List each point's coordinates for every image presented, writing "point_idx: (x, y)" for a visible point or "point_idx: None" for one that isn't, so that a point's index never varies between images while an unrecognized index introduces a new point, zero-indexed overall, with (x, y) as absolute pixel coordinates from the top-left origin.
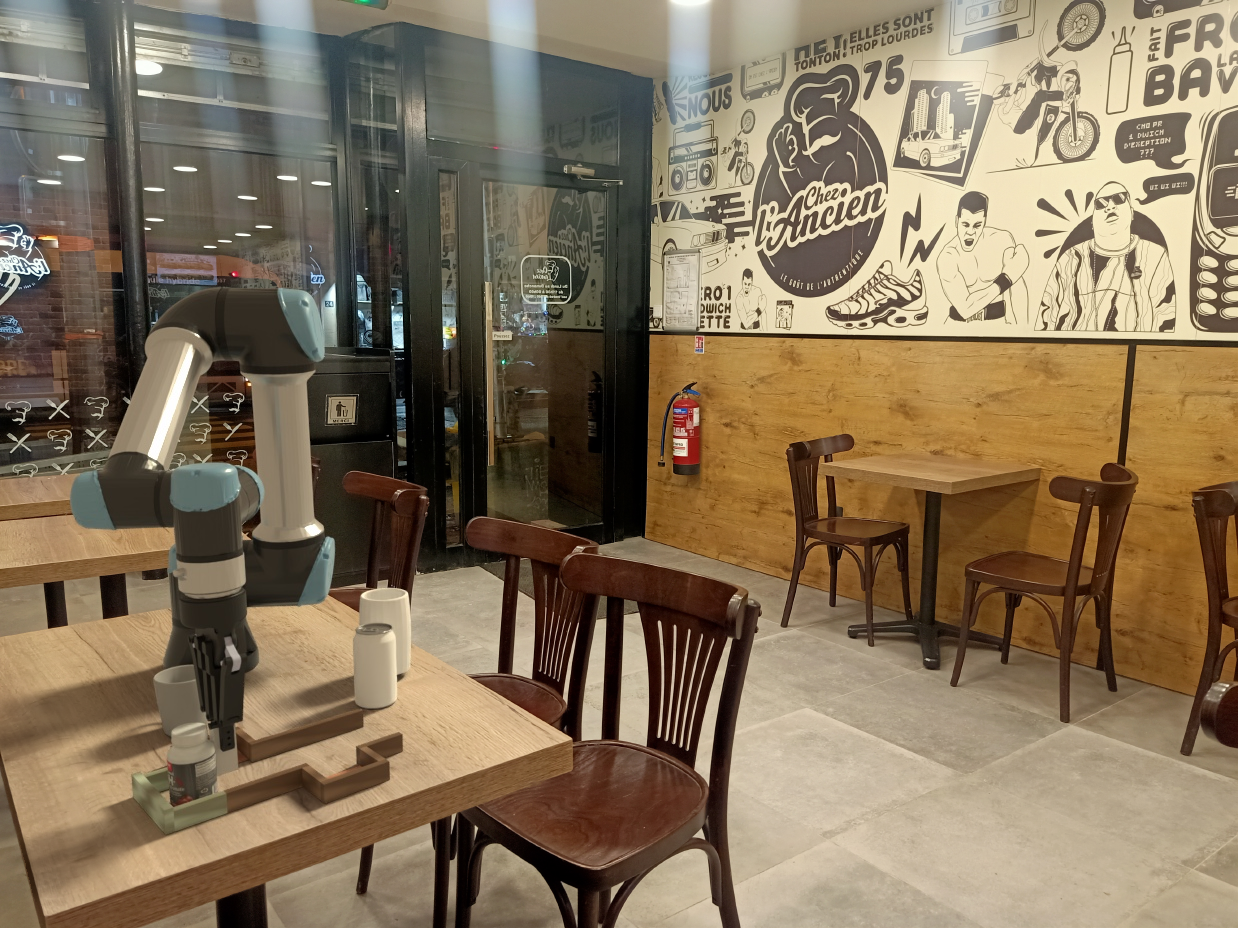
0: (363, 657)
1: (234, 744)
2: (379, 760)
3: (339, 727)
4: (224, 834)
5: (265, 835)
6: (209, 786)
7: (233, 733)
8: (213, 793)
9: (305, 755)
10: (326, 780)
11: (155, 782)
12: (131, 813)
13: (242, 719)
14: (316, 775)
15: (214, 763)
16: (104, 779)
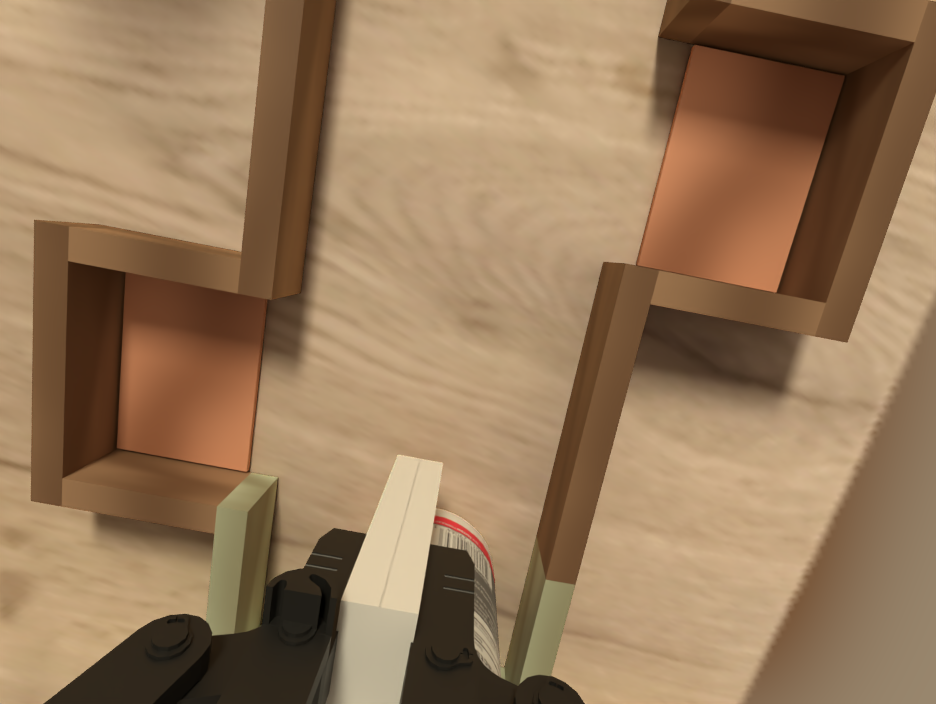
0: None
1: (473, 568)
2: (913, 34)
3: None
4: (662, 607)
5: (773, 548)
6: (495, 604)
7: (471, 612)
8: (489, 567)
9: (414, 123)
10: (826, 312)
11: (246, 619)
12: None
13: (581, 702)
14: (757, 310)
15: (482, 631)
16: (50, 635)
